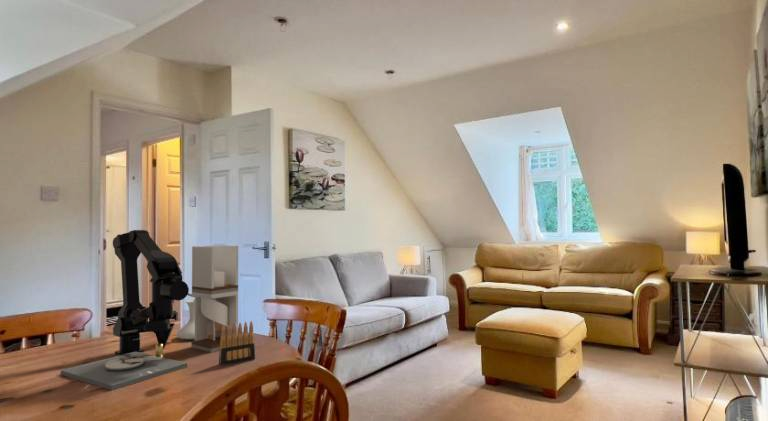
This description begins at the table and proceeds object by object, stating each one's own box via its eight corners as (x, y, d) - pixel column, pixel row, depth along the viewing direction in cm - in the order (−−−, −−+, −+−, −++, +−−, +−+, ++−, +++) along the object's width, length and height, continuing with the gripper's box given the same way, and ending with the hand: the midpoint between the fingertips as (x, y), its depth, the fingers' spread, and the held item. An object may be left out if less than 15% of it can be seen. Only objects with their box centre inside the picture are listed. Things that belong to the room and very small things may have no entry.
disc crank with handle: (100, 372, 126) (100, 352, 127) (111, 362, 136) (111, 343, 136) (159, 367, 130) (159, 348, 131) (166, 357, 140) (166, 339, 140)
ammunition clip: (220, 365, 137) (220, 325, 137) (218, 364, 138) (218, 324, 139) (255, 359, 143) (255, 321, 144) (252, 358, 145) (253, 320, 145)
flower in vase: (176, 343, 164) (177, 273, 165) (175, 336, 174) (175, 270, 175) (215, 338, 170) (215, 271, 171) (211, 332, 180) (211, 269, 181)
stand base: (60, 374, 130) (60, 369, 130) (135, 355, 149) (135, 351, 149) (112, 390, 117) (112, 385, 117) (187, 366, 136) (187, 362, 136)
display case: (191, 347, 158) (192, 246, 159) (218, 340, 167) (218, 245, 168) (211, 352, 151) (211, 247, 153) (237, 345, 160) (238, 245, 161)
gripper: (140, 294, 146) (140, 343, 145) (124, 303, 128) (123, 360, 127) (178, 293, 149) (178, 341, 148) (167, 301, 131) (167, 356, 130)
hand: (162, 349), depth 138 cm, fingers closed
